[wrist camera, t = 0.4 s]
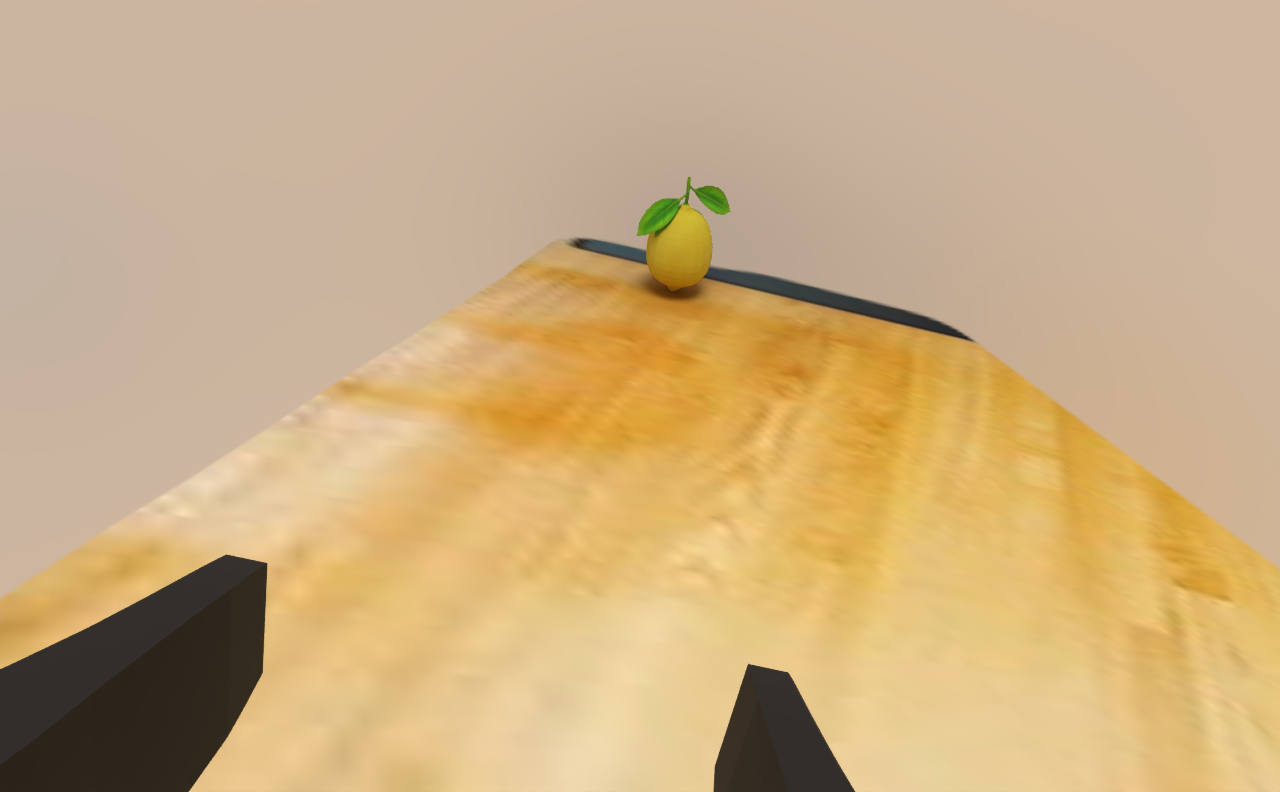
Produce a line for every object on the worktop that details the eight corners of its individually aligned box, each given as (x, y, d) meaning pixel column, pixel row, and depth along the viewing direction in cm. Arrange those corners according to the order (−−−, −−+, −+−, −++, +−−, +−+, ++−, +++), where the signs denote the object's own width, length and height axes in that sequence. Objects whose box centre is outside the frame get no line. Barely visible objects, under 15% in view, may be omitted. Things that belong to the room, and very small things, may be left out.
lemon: (717, 284, 74) (736, 173, 68) (707, 311, 69) (727, 193, 63) (644, 270, 74) (657, 159, 69) (629, 296, 70) (642, 178, 64)
